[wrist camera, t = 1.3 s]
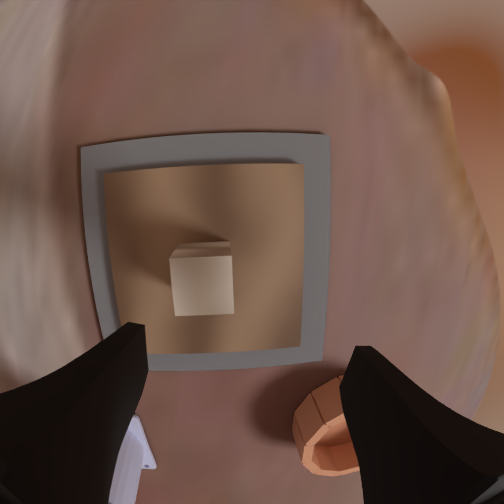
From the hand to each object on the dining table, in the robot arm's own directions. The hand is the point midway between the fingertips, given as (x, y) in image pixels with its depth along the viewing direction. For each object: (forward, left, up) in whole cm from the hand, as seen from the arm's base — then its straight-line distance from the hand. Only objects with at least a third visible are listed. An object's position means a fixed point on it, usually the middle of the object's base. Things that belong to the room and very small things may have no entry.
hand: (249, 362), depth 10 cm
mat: (-2, +1, -10) cm, 10 cm away
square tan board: (-2, +1, -10) cm, 10 cm away
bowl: (+9, -14, -10) cm, 20 cm away
